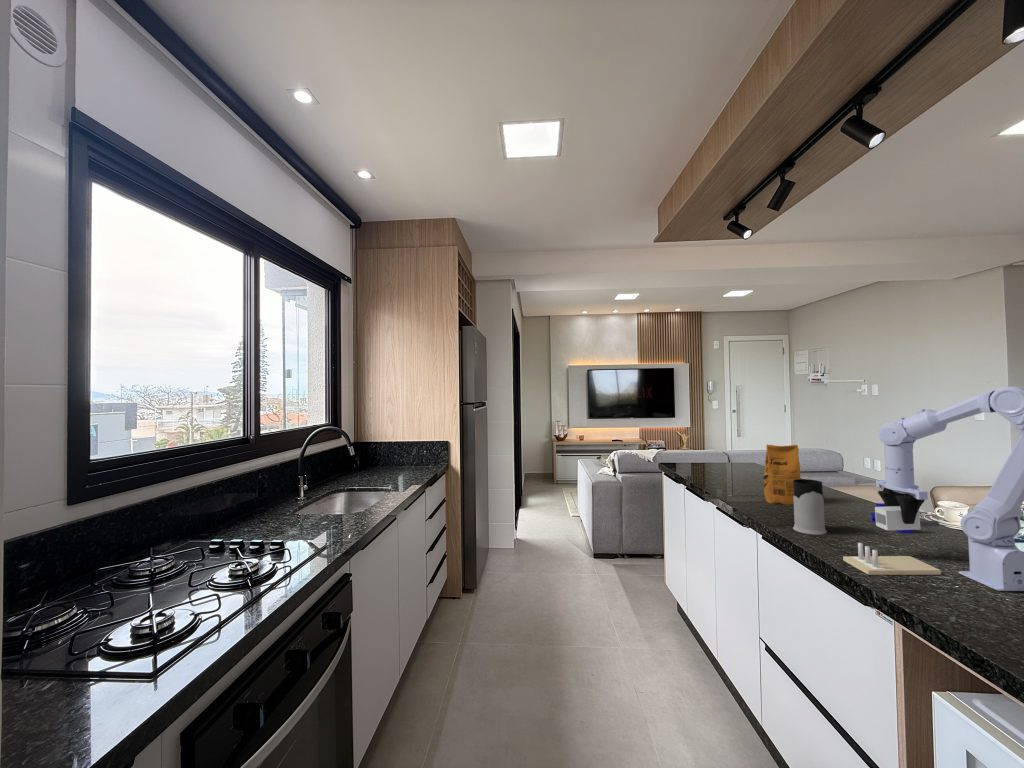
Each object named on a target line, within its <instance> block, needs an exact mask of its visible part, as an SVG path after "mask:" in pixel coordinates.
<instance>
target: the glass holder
mask: <svg viewBox="0 0 1024 768" xmlns="http://www.w3.org/2000/svg"><path fill="white" fill-rule="evenodd" d="M793 484H794V496H793V499H794V505H793V515H794V516H793V517H794V518H793V519H794V520H793V521H794V525H793V527H792V529H793V530H794V531H795V532H797V533H802V534H807V535H815V536H816V535H818V536H819V535H820V536H821V535H826V534H827V533H828V531H827V529H826V526H825V525H826V523H825V521H826V520H825V500H824V494H823V493H824V492H823V489H824V488H823V482H822V481H820V480H817V479H816V480H815V479H810V478H809V479H806V478H800V479H796V480H793Z"/></svg>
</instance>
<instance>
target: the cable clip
mask: <svg viewBox="0 0 1024 768" xmlns="http://www.w3.org/2000/svg"><path fill="white" fill-rule="evenodd" d="M875 505H876V506H875V507H886V506H885V503H884V502H883V503H878V502H877V503H875ZM870 514H871V522H872V521H873V522H872V523H874V522H875V523H874V524H876V517H875V512H871V513H870ZM895 531H896V532H899V533H900V534H913V533H914V530H895Z"/></svg>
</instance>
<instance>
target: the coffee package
mask: <svg viewBox="0 0 1024 768" xmlns="http://www.w3.org/2000/svg"><path fill="white" fill-rule="evenodd" d="M765 453H766V454H765V459H764V463H765V464H764V473H763V481H762V484H763V485H762V487H763V489H762V490H763V494H764V498H765V502H766V503H768V504H771V505H772V504H781V505H786V506H789V505H791V506H792V505H793V506H794V499H793V496H794V484H793V480H796V479H801V465H800V457H799V445H797V444H792V445H774V444H767V443H766V452H765Z"/></svg>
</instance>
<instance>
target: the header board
mask: <svg viewBox="0 0 1024 768" xmlns="http://www.w3.org/2000/svg"><path fill="white" fill-rule="evenodd" d="M871 552H872V553H871ZM878 552H879V551H878V549H872V550H871V546H869V545H865V546H864V543H863V542H857V553H858V555H857V556H854V555H853V556H851V555H850V556H846V555H845V556H842V559H843V561H844V562H846V563H847V564H849V565H851V566H852V567H854V568H856V569H857V570H860V571H862V572H863V573H864V574H867V575H869V576H881V575H882V576H883V575H884V576H887V575H889V576H894V575H895V576H900V575H901V576H902V575H903V576H904V575H906V576H909V575H912V576H914V575H917V576H920V575H921V576H922V575H923V576H924V575H927V576H928V575H933V576H934V575H935V576H936V575H940V576H941V575H942V570H941V569H939V568H937V567H934V566H932V565H930V564H928V563H926V562H924V561H922V560H919V559H917V558H916V557H912V556H911V555H890V556H889V555H885V556H884V555H879V553H878ZM871 554H872V555H871ZM864 555H865V556H864ZM878 555H879V556H878Z"/></svg>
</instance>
